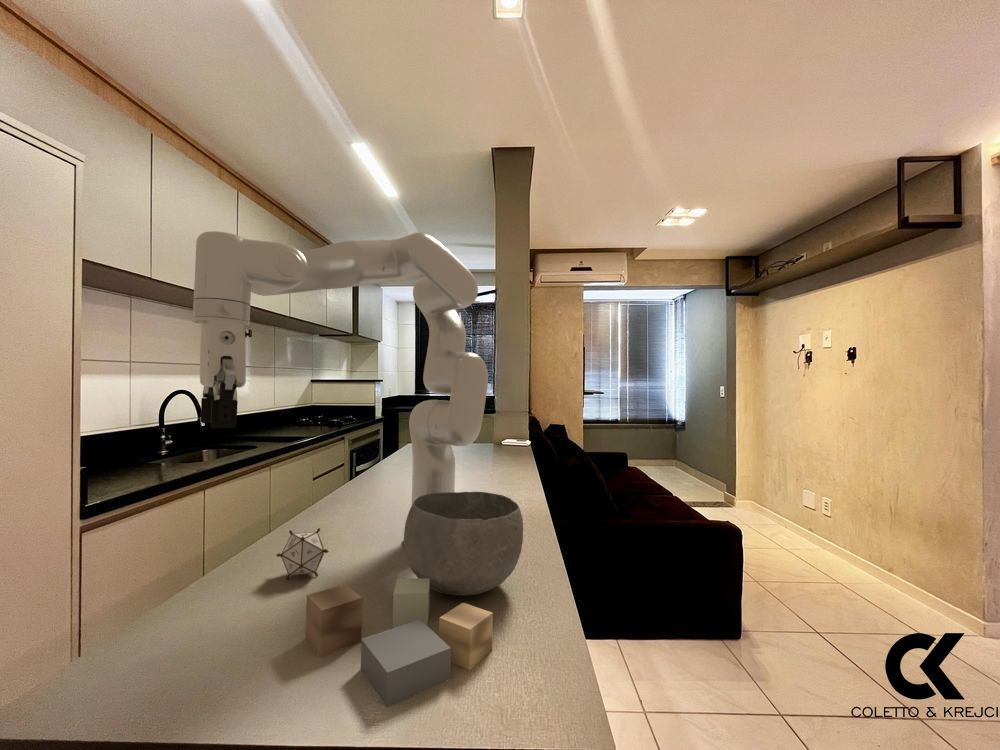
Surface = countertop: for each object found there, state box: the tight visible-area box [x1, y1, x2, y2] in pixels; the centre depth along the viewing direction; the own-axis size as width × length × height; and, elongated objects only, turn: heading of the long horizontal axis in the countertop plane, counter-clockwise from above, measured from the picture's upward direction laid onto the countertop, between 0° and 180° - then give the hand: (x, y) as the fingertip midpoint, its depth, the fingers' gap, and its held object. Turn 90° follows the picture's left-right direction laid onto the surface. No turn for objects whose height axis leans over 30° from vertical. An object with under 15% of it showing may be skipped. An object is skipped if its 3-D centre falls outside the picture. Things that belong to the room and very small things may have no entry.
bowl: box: [403, 491, 524, 596], centre depth 78 cm, size 20×20×15 cm
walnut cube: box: [304, 583, 363, 658], centre depth 61 cm, size 6×6×6 cm
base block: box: [360, 620, 452, 708], centre depth 54 cm, size 8×8×4 cm
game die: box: [275, 527, 329, 581], centre depth 82 cm, size 9×8×10 cm
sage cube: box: [391, 577, 431, 629], centre depth 67 cm, size 5×5×5 cm
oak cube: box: [438, 602, 494, 670], centre depth 59 cm, size 5×5×5 cm
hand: (217, 425), depth 69 cm, fingers open, 9 cm apart
